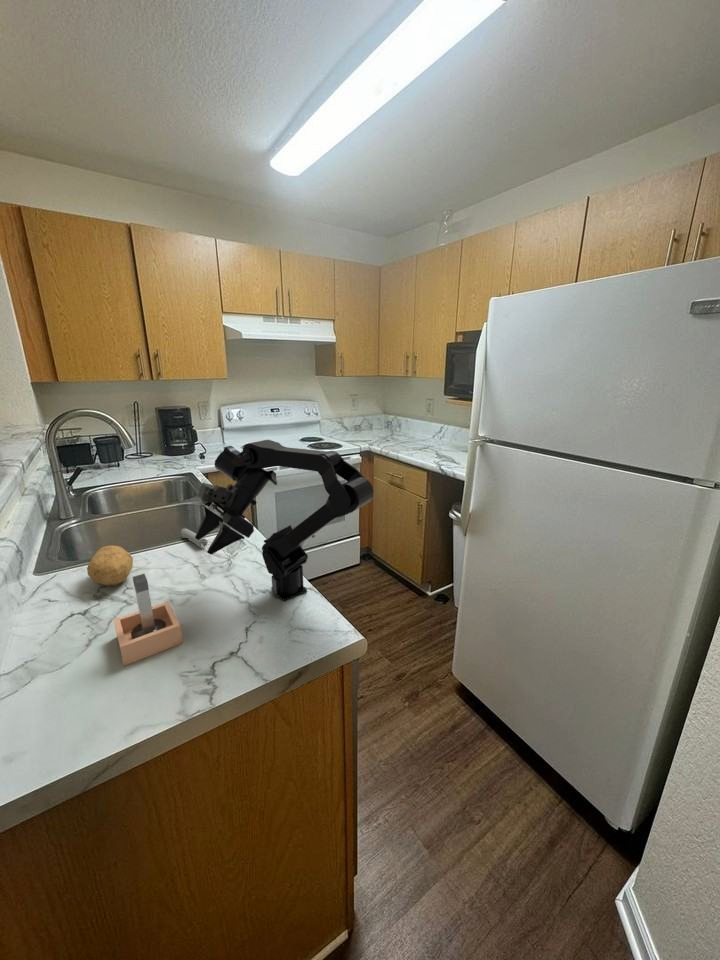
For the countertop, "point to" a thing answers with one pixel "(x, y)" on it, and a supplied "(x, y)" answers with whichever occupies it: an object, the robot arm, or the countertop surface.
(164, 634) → the peach square open box
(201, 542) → the kitchen whisk
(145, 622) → the grey stamp
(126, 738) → the countertop surface
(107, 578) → the potato
